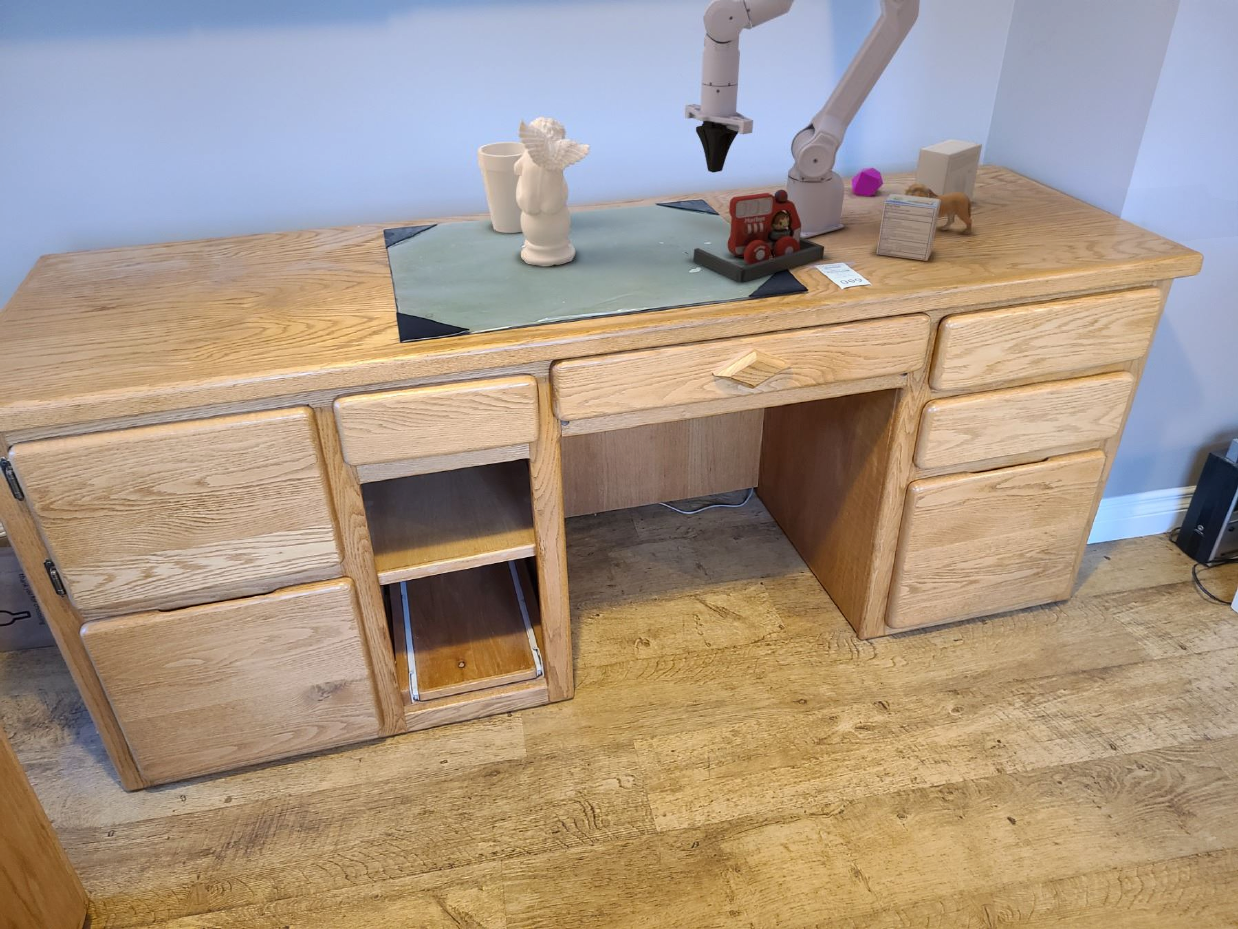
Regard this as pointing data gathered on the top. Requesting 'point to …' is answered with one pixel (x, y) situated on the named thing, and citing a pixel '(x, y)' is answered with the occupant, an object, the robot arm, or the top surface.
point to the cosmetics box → (949, 167)
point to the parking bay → (741, 274)
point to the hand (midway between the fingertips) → (715, 170)
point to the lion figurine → (947, 205)
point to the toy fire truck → (763, 226)
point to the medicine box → (908, 226)
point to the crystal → (867, 182)
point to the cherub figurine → (545, 191)
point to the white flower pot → (501, 183)
